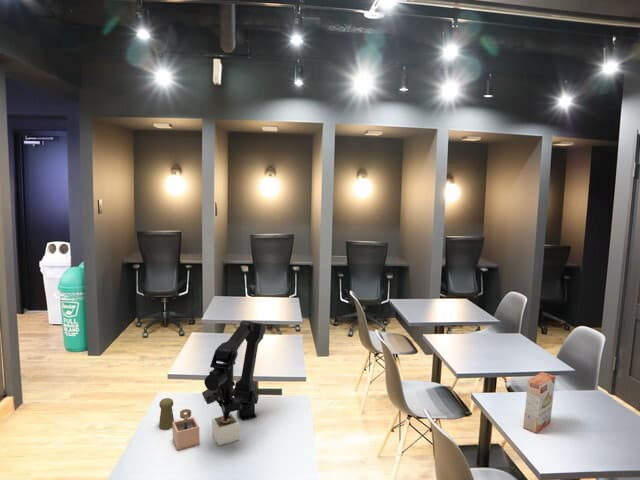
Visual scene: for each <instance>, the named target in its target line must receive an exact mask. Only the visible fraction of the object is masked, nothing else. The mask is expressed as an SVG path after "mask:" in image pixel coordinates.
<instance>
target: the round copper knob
mask: <svg viewBox="0 0 640 480" xmlns="http://www.w3.org/2000/svg"><path fill="white" fill-rule="evenodd" d="M221 416H222V417H221V418H220V424H222V425H224V426H225V425H228V424H230V423H231V417H230V416H228V418H227V419H224V417H223V415H221Z"/></svg>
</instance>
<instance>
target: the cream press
mask: <svg viewBox="0 0 640 480" xmlns="http://www.w3.org/2000/svg"><path fill="white" fill-rule="evenodd" d="M222 416H223V415H220V416H216V417H212V418H211V422H212V423H211V427H212V429H211V435H212V437H213V439H214V441H215V443H216V444H217V446H218V447H219V446H223V445H226V444H231V443H234V442H239V441H240V422H239V420H238V419H237V418H236V416H235V415H234V413H232V412H230V414H229V416H230V417H231V423H230V424H228V425H225V426H224V425H222V424H220V418H221V417H222Z"/></svg>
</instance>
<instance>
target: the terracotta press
mask: <svg viewBox="0 0 640 480" xmlns="http://www.w3.org/2000/svg"><path fill="white" fill-rule="evenodd" d="M189 423H192V424H193V426H194V428H190V429H186V430H182V431H178V429H177V426H181V425H184V419H180V420H176V421H175V420H174V422H172V428H171V429H172V441H173V444H174V446H175V449H176V451H181V450H185V449H189V448H193V447H197V446H200V426H199V423H198V422H197V421H196V418H195V417H194V416H191V417H189V418H187V424H189Z"/></svg>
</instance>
